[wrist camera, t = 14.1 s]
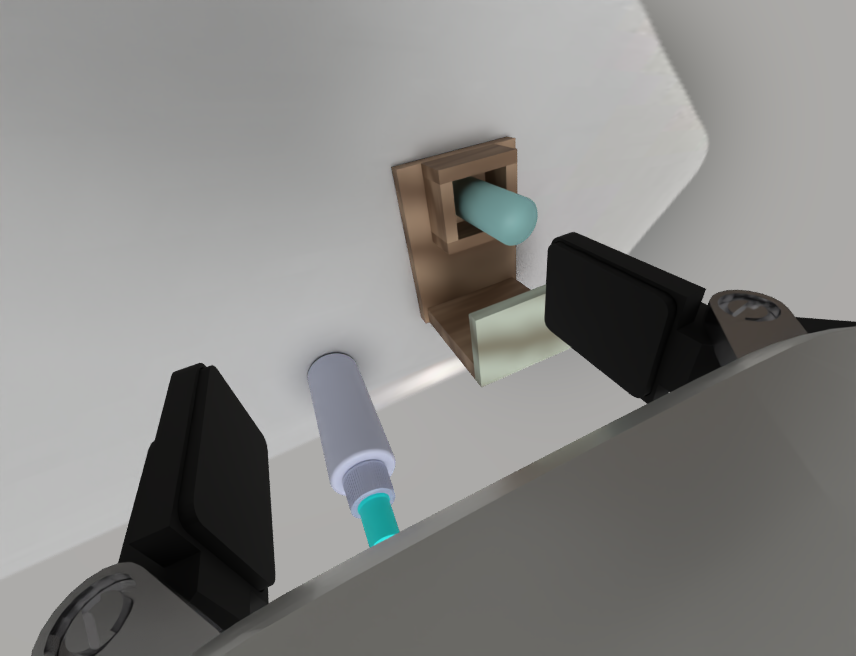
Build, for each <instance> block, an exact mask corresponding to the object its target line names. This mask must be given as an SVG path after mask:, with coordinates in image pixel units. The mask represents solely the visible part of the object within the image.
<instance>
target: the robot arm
mask: <svg viewBox="0 0 856 656" xmlns="http://www.w3.org/2000/svg"><path fill="white" fill-rule="evenodd" d="M705 290H706V289H705V288H703V287H701V286H698V285H696V284H694V283H691V282H689V281H687V280H684V279H682V278H680V277H677V276H675V275H673V274H670V273H668V272H666V271H663V270H661V269H659V268H657V267H654V266H652V265H650V264H647V263H645V262H643V261H640V260H638V259H636V258H634V257H631V256H629V255H627V254H624V253H622V252H620V251H617V250H615V249H613V248H610V247H608V246H606V245H604V244H601V243H599V242H597V241H594V240H592V239H590V238H587V237H585V236H583V235H580V234H578V233H575V232H571V233H568V234H565V235H562V236H560V237H557V238H555V239H554V240H553V241H552V243H551V245H550V246H549V248H548V257H547V276H546V295H545V314H544V321H545V324H546V327H547V328H548V329H549V330H550V331H551V332H552V333H554V334H555V335H556V336H557V337H559V338H560V339H561V340H562V341H564V342H565V343H566V344H567V345H569V346H570V347H571V348H572V349H574V350H575V351H576V352H578V353H579V354H580V355H581V356H583V357H584V358H585V359H587V360H588V361H589V362H590V363H591V364H593V365H594V366H595V367H596V368H598V369H599V370H601V371H602V372H603V373H604V374H605V375H607V376H608V377H609V378H611V379H612V380H613V381H614V382H615V383H617V384H618V385H619V386H620V387H622V388H623V389H624V390H626V391H627V392H628V393H629V394H631V395H632V396H634V397H636V398H641V399H642V400H643V401H645V402H646V403H647V404H646V405H644V406H642V407H641V408H639V409H637V410H635V411H633V412H631V413H629V414H627V415H625V416H623V417H621V418H619V419H617V420H615V421H613V422H611V423H609V424H608V425H605V426H603V427H601V428H600V429H597V430H596V431H594V432H592V433H590V434H588V435H586V436H584V437H582V438H580V439H578V440H576V441H574V442H572V443H570V444H568V445H566V446H564V447H563V448H561V449H559V450H557V451H555V452H553V453H551V454H549V455H547V456H545V457H543V458H541V459H539V460H537V461H535V462H534V463H531V464H530V465H528V466H526V467H524V468H522V469H520V470H518V471H516V472H514V473H512V474H510V475H508V476H506V477H504V478H502V479H500V480H499V481H497V482H495V483H493V484H491V485H489V486H487V487H485V488H483V489H481V490H479V491H477V492H476V493H474V494H472V495H470V496H468V497H466V498H464V499H462V500H460V501H458V502H456V503H455V504H453V505H451V506H449V507H447V508H445V509H443V510H441V511H439V512H437V513H435V514H433V515H432V516H430V517H428V518H426V519H424V520H422V521H420V522H418V523H416V524H414V525H412V526H410V527H408V528H407V529H405V530H403V531H401V532H399V533H397V534H395V535H393V536H391V537H389V538H387V539H386V540H384V541H382V542H380V543H378V544H376V545H374V546H372V547H370V548H368V549H367V550H365V551H363V552H361V553H359V554H357V555H356V556H354V557H352V558H350V559H348V560H347V561H345V562H343V563H341V564H339V565H337V566H335V567H333V568H332V569H330V570H328V571H326V572H324V573H322V574H321V575H319V576H317V577H315V578H313V579H311V580H310V581H308V582H306V583H304V584H302V585H301V586H298V587H297V588H295V589H293V590H291V591H289V592H287V593H286V594H284V595H282V596H281V597H279V598H277V599H276V600H274V601H272V602H270V603H268V587H269V586H271V585H273V584H274V582H275V562H274V547H273V546H274V545H273V530H272V514H271V498H270V481H269V465H268V449H267V444H266V441H265V438H264V436H263V435H262V433H261V432H260V430H259V429H258V427H257V426H256V424H255V423H254V421H253V420H252V419H251V417H250V416H249V414H248V413H247V411H246V410H245V408H244V407H243V406H242V404H241V403H240V401H239V400H238V398H237V397H236V396H235V394H234V393H233V391H232V390H231V388H230V387H229V385H228V384H227V383H226V381H225V380H224V378H223V377H222V375H221V374H220V372H219V371H218V370H217V368H216V367H215V366H213V365H211V366H208V367H206V366H205V365H204V364H203V363H198V364H195V365H192V366H190V367H187V368H184V369H181V370H178V371H175V372H173V374H172V376H171V379H170V383H169V387H168V391H167V395H166V399H165V403H164V407H163V410H162V414H161V418H160V422H159V426H158V430H157V434H156V438H155V441H154V442H152V443H151V445H150V447H149V450H148V453H147V457H146V461H145V464H144V468H143V472H142V476H141V479H140V483H139V487H138V491H137V494H136V498H135V502H134V506H133V509H132V513H131V517H130V520H129V524H128V528H127V532H126V535H125V539H124V543H123V547H122V551H121V555H120V558H119V562H118V563H117V564H115V565H112V566H110V567H107V568H104V569H102V570H101V571H99V572H98V573H96V574H94V575H93V576H91V577H90V578H88V579H86V580H85V581H84V582H83V583H82V584H81V585H79V586H78V587H77V588H76V589H75V590H74V591H72V592H71V593H70V594H69V595H68V596H67V597H66V598H65V600H64V601H63V602H62V603H61V604H60V605H59V606H58V607H57V609H56V610H55V611H54V612H53V614H52V615H51V617H50V618H49V620H48V621H47V623H46V624H45V626H44V627H43V629H42V630H41V632H40V634H39V636H38V639H37V641H36V643H35V646H34V648H33V650H32V655H31V656H856V322H851V321H839V320H825V319H813V318H800V317H795V316H794V315H793V314H792V312H791V311H790V310H789V309H788V307H786V306H785V305H784V304H783V303H782V302H780V301H778V300H777V299H775V298H773V297H770V296H767V295H764V294H761V293H757V292H752V291H746V290H726V291H722V292H718V293H716V294H714V295H713V296H712V297H711V299H710V301H709V303H708V305H706V304H704V303H702V302H701V301H702V298H703V295H704V293H705ZM668 392H670V393H668Z"/></svg>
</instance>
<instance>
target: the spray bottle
mask: <svg viewBox="0 0 856 656" xmlns="http://www.w3.org/2000/svg"><path fill="white" fill-rule="evenodd" d="M308 383H309V388H310V392H311V397H312V401H313V406H314V411H315V415H316V420H317V425H318V429H319V434H320V438H321V443H322V447H323V452H324V456H325V461H326V466H327V471H328V475H329V480H330V484H331V487H332V488H333V490H334V491H335V492H337V493H338V494H341V495H345V496H346V497H347V500H348V503H349V507H350V510H351V513H352V515H353V516H354V517H356V518H360V519H361V520H362V523H363V527H364V530H365V533H366V537H367V540H368V544H369V547H372V546H374V545H376V544H378V543H380V542H382V541H384V540H386V539H387V538H389V537H391V536H393V535H395V534H397V533H399V529H398V526H397V522H396V520H395V516H394V513H393V510H392V507H391V505H392V503H393V502H394V499H395V493H394V489H393V486H392V483H391V480H390V476H391V475H392V473H393V471H394V469H395V457H394V455H393V452H392V450H391V447H390V445H389V442H388V440H387V437H386V435H385V433H384V430H383V428H382V425H381V423H380V420H379V418H378V416H377V413H376V410H375V408H374V405H373V403H372V401H371V398H370V396H369V393H368V391H367V388H366V386H365V383H364V381H363V378H362V376H361V374H360V371H359V369H358V366H357V364H356V362H355V361H354V360H353V359H352V358H351V357H349V356H347V355H345V354H340V353H333V354H328V355H325V356H323V357H321V358H319V359H318V360H317V361H315V362H314V363H313V365H312V366H311V368H310V369H309V372H308Z"/></svg>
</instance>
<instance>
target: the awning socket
mask: <svg viewBox="0 0 856 656" xmlns="http://www.w3.org/2000/svg"><path fill="white" fill-rule="evenodd" d="M391 168H392V173H393V178H394V183H395V188H396V193H397V198H398V203H399V208H400V213H401V218H402V223H403V228H404V233H405V238H406V243H407V248H408V253H409V258H410V263H411V268H412V273H413V278H414V283H415V288H416V293H417V298H418V303H419V308H420V313H421V318H422V319H423V320H424V322H425V323H429V322H430V323H431V324H432V326H433V327H434V328H435V329H436V331H437V332H438V333H439V334H440V336H441V337H442V338H443V339H444V341H445V342H446V343H447V345H448V346H449V347H450V348H451V350H452V351H453V352H454V353H455V355H456V356H457V357H458V358H459V360H460V361H461V362H462V363H463V365H464V366H465V367H466V368H467V370H468V371H469V372H470V373H471V375H472V376H473V377H474V379H475V380H476V381H477V382H478V384H479V385H480V386H481V387H484V386H486V385H488V384H490V383H493V382H495V381H497V380H499V379H502V378H504V377H506V376H509V375H511V374H513V373H515V372H518V371H520V370H522V369H524V368H527V367H529V366H531V365H533V364H536V363H538V362H540V361H543V360H545V359H547V358H549V357H551V356H554V355H556V354H558V353H561V352H563V351H565V350H567V349H570V348H571V347H570V346H569V345H567V344H566V343H565V342H564V341H562V340H561V339H560V338H559V337H557V336H556V335H555V334H554V333H552V332H551V331H550V330H549V329H548V328H547V327H546V324H545V321H544V314H545V295H546V285H543V286H540V287H538V288H535V289H533V290H530V289H529V288H527V287H526V286H525V285H523V284H522V283H520V282H519V281H517V280H516V245H513V246H509V245H506V244H504V243H502V242H500V241H499V240H497V239H495V238H494V237H492V236H490V235H488V234H487V233H485V232H483V231H482V230H480V229H478V228H477V227H475V226H473V225H472V224H470V223H468V222H467V221H465V220H463V219H462V218H460V217H458V216H457V215H456V213H455V204H454V194H453V185H452V181H455V180H459V179H462V178H466V177H469V176H472V177H474V178H477V179H480V180H482V181H485V182H488V183H490V184H493V185H495V186H498V187H501V188H503V189H506V190H508V191H511V192H514V193H516V194H517V149H515V138H511V137H504V138H500V139H496V140H493V141H489V142H485V143H481V144H477V145H474V146H470V147H466V148H462V149H458V150H455V151H451V152H447V153H443V154H439V155H436V156H432V157H428V158H424V159H420V160H417V161H413V162H409V163H405V164H402V165H398V166H394V167H391Z"/></svg>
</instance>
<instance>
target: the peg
mask: <svg viewBox="0 0 856 656" xmlns="http://www.w3.org/2000/svg"><path fill="white" fill-rule="evenodd" d="M452 185H453V194H454V204H455V213H456V215H457V216H458V217H460V218H462V219H463V220H465V221H467V222H468V223H470V224H472V225H473V226H475V227H477V228H478V229H480V230H482V231H483V232H485V233H487V234H488V235H490V236H492V237H494V238H495V239H497V240H499V241H500V242H502V243H504V244H506V245H509V246H513V245H517V244H520V243H522V242H523V241H525V240H526V239H527V238H528V237H529V236H530V234H531V233H532V231H533V230H534V228H535V225H536V222H537V208H536V205H535V204H534V202H533V201H532V200H531V199H529V198H527V197H524V196H521V195H519V194H516V193H514V192H511V191H508V190H506V189H503V188H501V187H498V186H495V185H493V184H490V183H488V182H485V181H482V180H480V179H477V178H474V177H472V176H469V177H466V178H462V179H459V180H455V181H452Z"/></svg>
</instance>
